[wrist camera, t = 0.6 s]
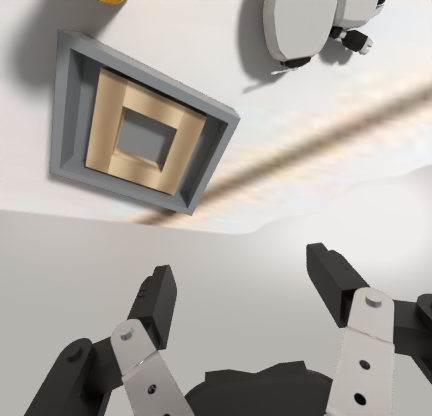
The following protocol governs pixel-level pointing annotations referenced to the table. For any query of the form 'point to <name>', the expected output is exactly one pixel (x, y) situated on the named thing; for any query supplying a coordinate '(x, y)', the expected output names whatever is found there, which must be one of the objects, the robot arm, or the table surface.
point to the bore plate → (152, 107)
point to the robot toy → (314, 27)
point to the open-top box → (129, 124)
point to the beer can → (111, 1)
